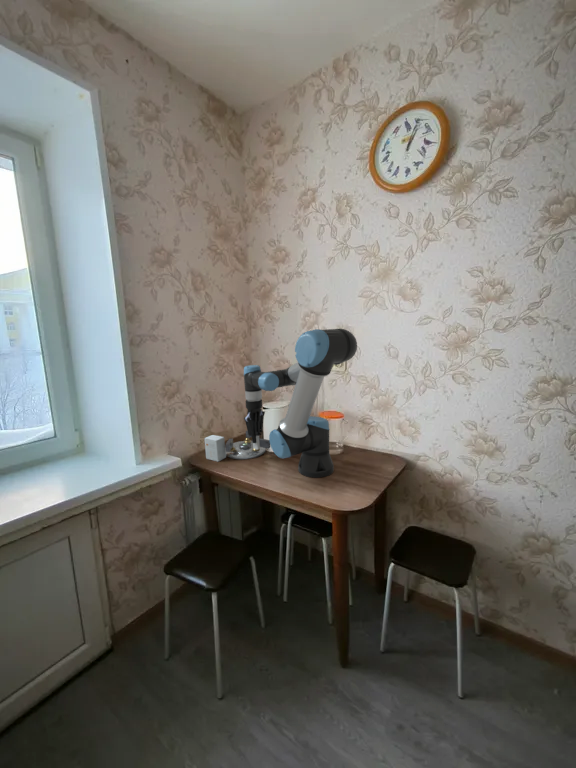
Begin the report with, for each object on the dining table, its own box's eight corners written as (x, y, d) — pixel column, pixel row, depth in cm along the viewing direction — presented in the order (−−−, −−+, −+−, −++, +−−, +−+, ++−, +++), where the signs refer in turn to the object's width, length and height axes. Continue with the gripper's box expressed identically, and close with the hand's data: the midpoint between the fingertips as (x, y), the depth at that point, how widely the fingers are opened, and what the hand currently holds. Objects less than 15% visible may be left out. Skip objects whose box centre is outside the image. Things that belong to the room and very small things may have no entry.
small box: (226, 457, 159) (224, 436, 157) (218, 462, 155) (216, 440, 153) (214, 454, 164) (212, 434, 162) (205, 458, 159) (204, 437, 157)
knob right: (248, 443, 170) (247, 432, 169) (242, 442, 172) (242, 431, 171) (259, 438, 179) (259, 427, 177) (254, 437, 180) (253, 426, 179)
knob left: (228, 448, 165) (228, 437, 164) (236, 448, 165) (235, 437, 164) (224, 456, 155) (223, 444, 154) (231, 456, 155) (231, 444, 154)
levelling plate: (273, 448, 169) (272, 440, 169) (248, 462, 153) (247, 454, 152) (243, 441, 180) (242, 435, 179) (216, 454, 164) (216, 447, 163)
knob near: (251, 450, 162) (250, 438, 161) (255, 447, 165) (255, 436, 164) (267, 453, 156) (266, 442, 155) (271, 451, 159) (271, 439, 158)
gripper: (256, 395, 158) (258, 443, 162) (237, 401, 147) (241, 452, 151) (268, 397, 154) (271, 445, 158) (251, 403, 143) (254, 455, 147)
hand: (256, 448), depth 155 cm, fingers closed
